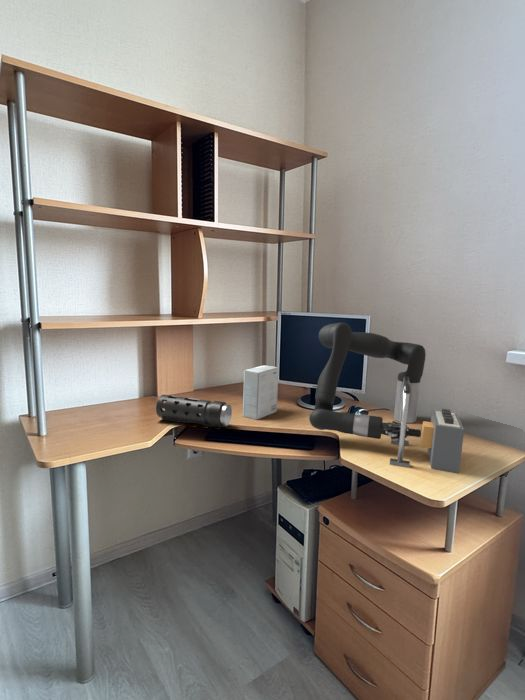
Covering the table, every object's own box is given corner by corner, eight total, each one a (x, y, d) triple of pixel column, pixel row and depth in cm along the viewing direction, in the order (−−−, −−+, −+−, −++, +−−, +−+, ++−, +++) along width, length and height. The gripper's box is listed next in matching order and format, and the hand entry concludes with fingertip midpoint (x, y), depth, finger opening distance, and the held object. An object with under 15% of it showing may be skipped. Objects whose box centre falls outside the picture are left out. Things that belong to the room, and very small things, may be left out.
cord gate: (391, 441, 157) (397, 374, 153) (408, 443, 155) (415, 376, 151) (389, 464, 136) (397, 387, 132) (409, 467, 134) (417, 389, 130)
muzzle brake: (167, 416, 173) (168, 391, 172) (232, 425, 166) (233, 400, 164) (155, 423, 164) (155, 396, 163) (222, 433, 156) (223, 406, 155)
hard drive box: (262, 408, 190) (264, 364, 188) (277, 412, 186) (279, 367, 183) (241, 416, 178) (243, 369, 175) (256, 420, 173) (259, 372, 171)
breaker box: (427, 448, 151) (432, 405, 149) (452, 452, 149) (457, 408, 146) (431, 468, 134) (436, 419, 132) (458, 473, 132) (465, 423, 129)
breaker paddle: (420, 440, 145) (423, 421, 144) (436, 443, 144) (438, 423, 143) (421, 446, 140) (423, 426, 139) (438, 449, 138) (440, 428, 137)
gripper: (367, 421, 141) (422, 428, 135) (369, 410, 153) (421, 417, 148) (365, 442, 142) (420, 451, 137) (368, 430, 154) (419, 438, 149)
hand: (420, 433), depth 142 cm, fingers closed
